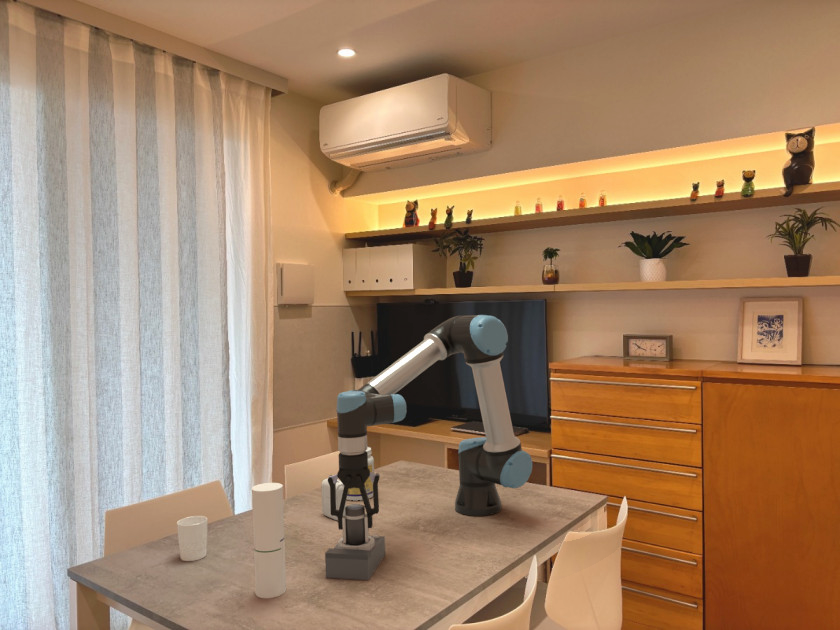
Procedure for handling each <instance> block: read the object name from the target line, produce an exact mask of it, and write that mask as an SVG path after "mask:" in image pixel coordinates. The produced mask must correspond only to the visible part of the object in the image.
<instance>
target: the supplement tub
mask: <svg viewBox="0 0 840 630" xmlns="http://www.w3.org/2000/svg"><path fill="white" fill-rule="evenodd" d="M366 452H367V453H368V469H369V470H370V472H371V473H374V474H375V459H374V457H373V456H372V455H371V454H373V453H372V447H370V446H367V450H366ZM364 484H365V488H366V492H367V495H368V498H369V499H372V498H373V482H371V478H370V477H369V478H368V479H367V481H366V482H365V483H364ZM351 500H353V502H356V501H357V502H359V501H358V500H360V501H363V499H362V496H361V492H360V490H359V488H351V489H348V494H347V498H346V501H351Z"/></svg>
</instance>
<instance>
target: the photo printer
mask: <svg viewBox="0 0 840 630" xmlns="http://www.w3.org/2000/svg"><path fill="white" fill-rule="evenodd" d="M328 478H329V477H328ZM328 478H325V479H323V480H322V482H321V509H322V510H321V512H322V515H324V516H326V517H328V518H329V519H332V520H335V521H338V517H337V516H332V515H331V507H330V485H329V483H328ZM343 489H344V485H343V483H342V482H341V481H340V480H339V478H338V479H337V483H336V509H337V510H339V507H340V503H341V499H342V494H343ZM346 506H347V502H346V503H345V507H346ZM345 507H344V511H343V515H345Z"/></svg>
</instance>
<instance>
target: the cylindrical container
mask: <svg viewBox="0 0 840 630" xmlns="http://www.w3.org/2000/svg"><path fill="white" fill-rule="evenodd" d="M283 487H284V485H283V484H282V483H280V482H265V483H264V482H263V483H259V484H256V485H254V486H252V487H251V499H252V500H251V502H252V503H251V504H252V505H251V506H252V507H251V508H252V530H253V531H252V532H253V534H252V535H253V555H254V557H253V559H254V561H253V562H254V564H253V565H254V584H255V585H254V588H255V589H254V590H255V591H254V593H255V596H256V597H258V598H260V599H273V598H277V597H281V596H283V595H284V594H285V593H286V592H287V574H286V573H287V571H286V549H285V548H286V547H285V546H286V544H285V543H286V542H285V515H284V514H285V513H284V509H285V508H284V488H283Z"/></svg>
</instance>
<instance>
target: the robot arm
mask: <svg viewBox="0 0 840 630" xmlns="http://www.w3.org/2000/svg"><path fill="white" fill-rule="evenodd" d="M508 341H509V335H508V331H507V328H506V326H505V325H504V323H503V322H502V321H501V320H500V319H499V318H497V317H496V316H493V315H487V314H476V315H475V314H474V315H472V314H471V315H457V316H453V317H452V316H451V317H450V318H448V319H447V320H445V321H443V322H442V323H440V324H439V325H437V326H436V327H435V328H433V329H431V330H430V331H429V332H428V333H426V334H425V335H424V336H423V340H422V341H421V342H420V343H418V344H417V345H416V346H414V347H413V348H411V349H410V350H409V351H408V352H406V353H405V354H404V355H402V356H401V357H400V358H398V359H397V360H395V361H394V362H393V363H391V365H389V366H388V367H387V368H385V369H384V370H381V372H380V373H378V374H377V375H376V376H375V377H373V378H372V379H371V380H369V381H367V382H366V383H365V384H364V385H363V386H360V387H359V388H358V389H353V390H352V389H350V390H348V391H343V392H340V393H338V395H337V397H336V399H337V400H336V410H335V411H336V419H337V448H338V449H337V450H338V451H337V452H339V453H338V471H337V473H336V474H334V475H332V474H331V475H329V476H328V483H329V485H330V507H331V515H332V516H337V517H338V520H337V527H338V530H339V531H340V530H341V531H342V537H343V543H346V517H345V515H343V511H344V507H345V503H346V504H347V500H346V498H347V494H348V489H351V488H359V490H360V492H361V496H362V499H363V500H362V502H363V505H364V506H365V517H364V518H365V542H368V540H369V535H370V534H369V529H372V528H373V524H374V523H373V516H374V515H377V514H379V511H380V506H379V505H380V502H379V484H378V483H379V481H380V473H375V472H374V473H371V472H370V470H369V469H368V453H367V452H366V450H367V447H368V427H371V426H372V427H373V426H378V425H386V424H394V423H398V422H401V421H403V420H404V419H405V418H406V415H407V402H406V400H405V398H404V397H403V396H402V394H398V392H399V391H400V390H402V389H403V388H404V387H405V386H407V385H408V384H409V383H411V382H412V381H413V380H414V379H416V378H417V377H418V376H419V375H420V374H422V373H423V372H425V371H426V370H427V369H428V368H429V367H431V366H432V365H434V364H435V363H436V362H437V361H444V360H446V358H448V357H450V356H451V355H455V354H460V353H461V354H463V356H464V360H465V364H466V365H468V366H469V367H471V369H472V374H473V381H474V385H475V389H476V395H477V400H478V404H479V405H478V406H479V409H480V414H481V415H480V416H481V419H482V424H483V429H484V434H485V436H482V437H472V438H466V439H465V438H464V439H463V440H461V441H460V442H459V443H458V452H457V455H458V474H459V487H458V490H457V492H456V493H457V494H456V497H455V500H454V509H455V511H456V512H457V513H459V514H462V515H466V516H473V517H485V516H491V515H494V514H498V513H499V512H501V510H502V501H501V498H500V495H499V493H498V488H497V485H499V486H502V487H504V488H510V489H519V488H521V487H522V486H524V485H525V484H526V483H527V482H528V480H529V478H530V476H531V474H532V471H533V459H532V457H531V455H530V454H529V453H528V452H527V451H526V450H523V449H522V445H521V444H522V443H521V440H520V438H519V437H517V436H516V435H515V433H514V429H513V428H514V427H513V423H512V419H511V412H510V409H509V403H508V402H509V401H508V398H507V394H506V387H505V382H504V378H503V372H502V368H501V363H500V362H501V361H502V359H503V358H504V351H505V350H506V348H507V344H508ZM369 477H370V478H371V482H373V497H372V498H373V507H372V506H371V502H370V498H368V495H367V492H366V488H365V484H364V483H365V482H366V481H367V479H368V478H369ZM337 479H338V480H339V481H341V482H342V483H343V485H344V489H343V494H342V499H341V503H340V507H339V510H337V509H336V483H337Z"/></svg>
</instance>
